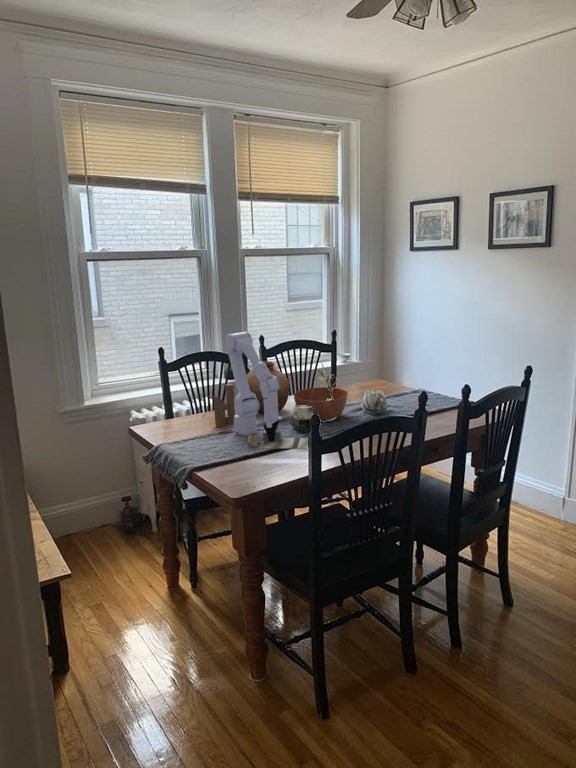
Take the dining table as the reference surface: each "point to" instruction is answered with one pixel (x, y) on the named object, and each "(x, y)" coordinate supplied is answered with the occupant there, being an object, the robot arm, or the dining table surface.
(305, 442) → the subfloor board
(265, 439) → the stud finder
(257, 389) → the pottery
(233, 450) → the dining table surface
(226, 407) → the wooden block
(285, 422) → the dining table surface
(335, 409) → the bowl
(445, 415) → the dining table surface
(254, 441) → the small yellow jar
